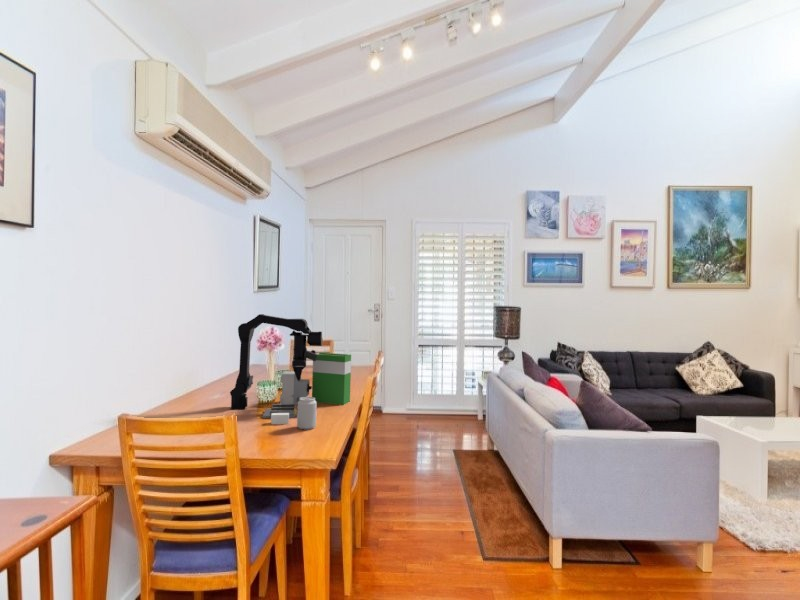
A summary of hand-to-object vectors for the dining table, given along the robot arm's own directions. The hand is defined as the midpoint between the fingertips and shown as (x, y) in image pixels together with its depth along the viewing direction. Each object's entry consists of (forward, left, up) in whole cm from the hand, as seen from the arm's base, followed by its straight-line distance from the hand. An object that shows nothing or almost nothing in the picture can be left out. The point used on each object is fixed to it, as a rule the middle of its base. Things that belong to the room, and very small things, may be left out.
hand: (298, 378), depth 211 cm
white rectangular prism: (-6, -24, -14) cm, 29 cm away
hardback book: (+16, +14, -14) cm, 25 cm away
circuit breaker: (-1, +12, -14) cm, 19 cm away
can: (+5, -31, -14) cm, 35 cm away
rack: (-6, -9, -14) cm, 18 cm away
